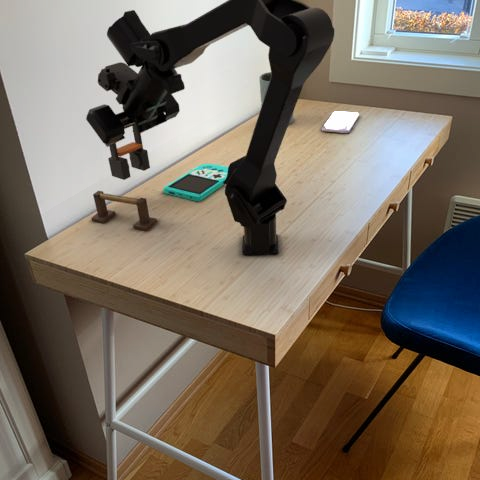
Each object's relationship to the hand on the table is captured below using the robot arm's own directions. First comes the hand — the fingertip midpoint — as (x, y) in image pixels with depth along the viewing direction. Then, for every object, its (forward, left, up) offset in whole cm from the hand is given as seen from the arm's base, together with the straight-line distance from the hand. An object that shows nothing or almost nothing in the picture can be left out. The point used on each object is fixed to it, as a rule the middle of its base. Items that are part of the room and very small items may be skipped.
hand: (120, 138), depth 105 cm
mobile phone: (+43, -50, -13) cm, 67 cm away
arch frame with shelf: (-1, -1, -7) cm, 7 cm away
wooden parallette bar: (-10, 0, -13) cm, 17 cm away
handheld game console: (+7, -15, -13) cm, 21 cm away
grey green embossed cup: (+47, -33, -13) cm, 59 cm away
